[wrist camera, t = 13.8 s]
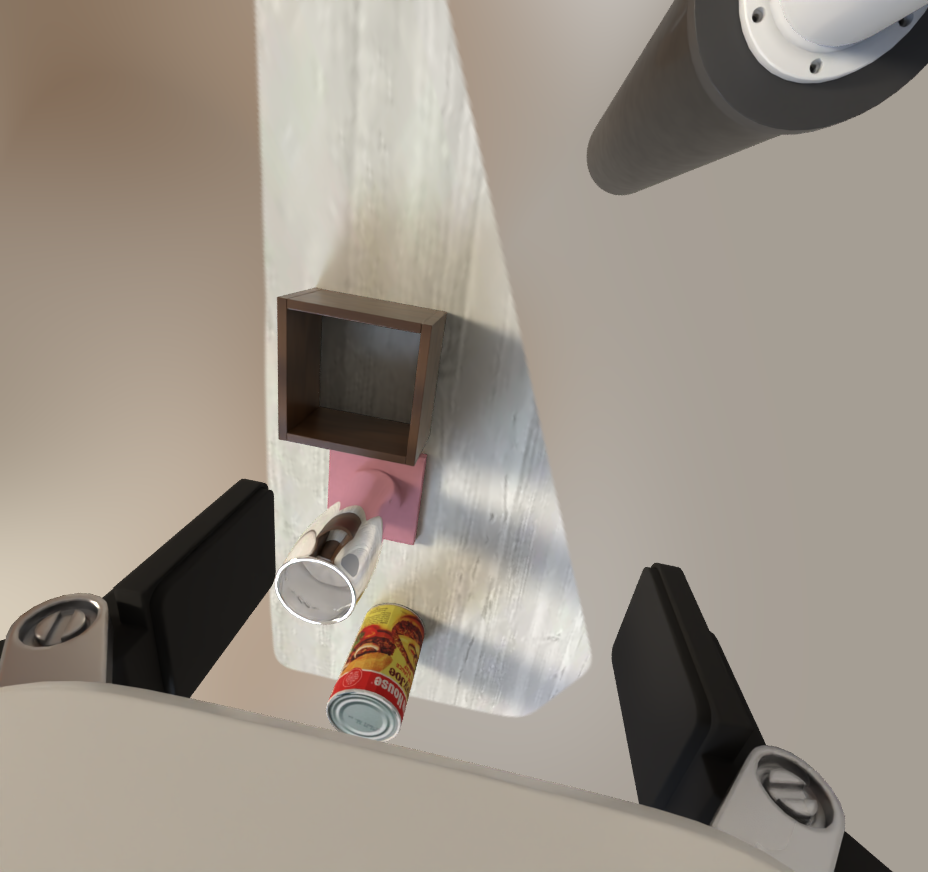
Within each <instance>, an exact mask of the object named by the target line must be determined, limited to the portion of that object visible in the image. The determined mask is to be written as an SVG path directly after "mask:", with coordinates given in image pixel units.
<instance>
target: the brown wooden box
mask: <svg viewBox="0 0 928 872" xmlns="http://www.w3.org/2000/svg"><path fill="white" fill-rule="evenodd" d="M446 314H447V312H445V311H439V310H438V311H437V310H433V309H428V308H422V307H417V306H411V305H406V304H400V303H395V302H390V301H384V300H379V299H373V298H368V297H362V296H357V295H351V294H346V293H340V292H335V291H329V290H324V289H319V288H312V289H308V290H304V291H300V292H296V293H292V294H288V295H284V296H280V297H277V323H278V426H279V439H280V440H285V441H290V442H295V443H300V444H305V445H310V446H315V447H320V448H325V449H330V450H335V451H339V452H344V453H349V454H354V455H359V456H364V457H369V458H374V459H379V460H384V461H389V462H394V463H399V464H404V465H405V464H406V465H409V466H415V464H416V462H417V460H418V458H419V456H420V454H421V452H422V450H423V448H424V446H425V444H426V442H427V440H428V438H429V436H430V430H431V422H432V415H433V408H434V401H435V394H436V386H437V379H438V372H439V365H440V358H441V350H442V343H443V336H444V329H445V322H446ZM322 315H323V316H328V317H333V318H339V319H344V320H350V321H355V322H360V323H366V324H371V325H376V326H382V327H387V328H393V329H398V330H403V331H409V332H414V333H419V334H420V333H421V338H420V346H419V355H418V363H417V372H416V380H415V389H414V397H413V406H412V414H411V422H410V424H405V423H400V422H395V421H390V420H385V419H380V418H375V417H370V416H365V415H360V414H355V413H350V412H345V411H339V410H334V409H329V408H324V407H319V398H320V364H321V330H322Z"/></svg>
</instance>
